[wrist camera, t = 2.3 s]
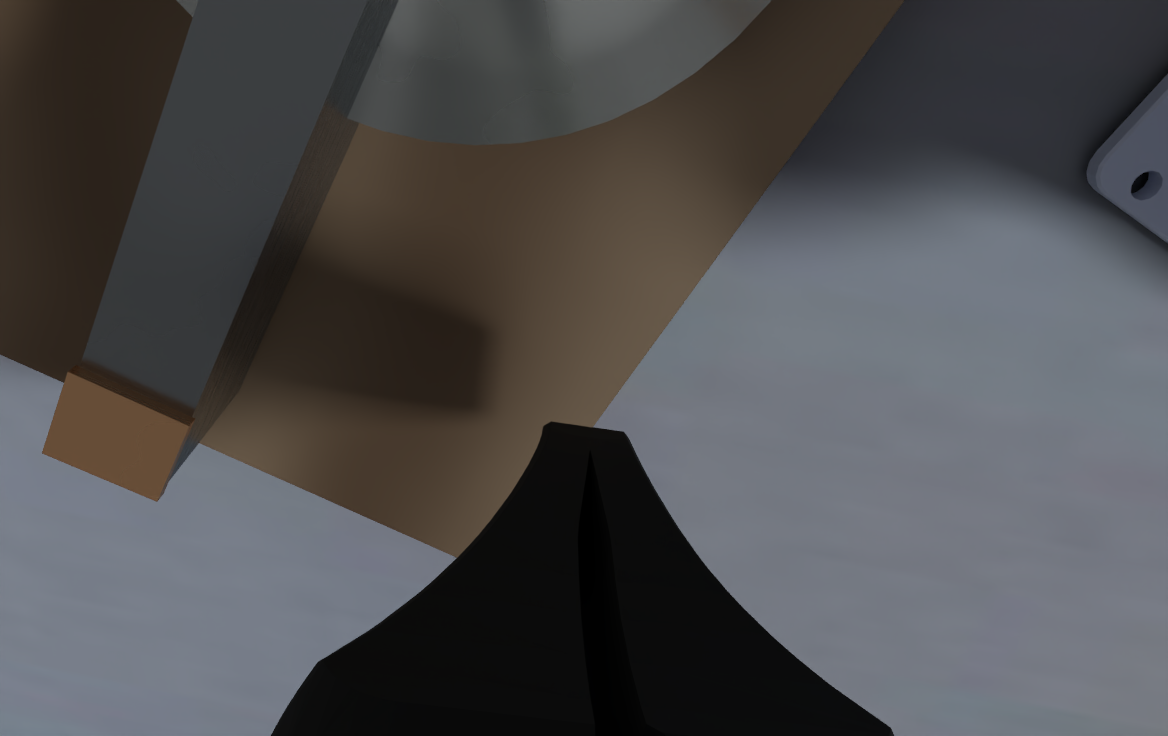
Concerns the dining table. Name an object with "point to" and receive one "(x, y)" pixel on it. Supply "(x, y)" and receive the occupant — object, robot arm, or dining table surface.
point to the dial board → (412, 251)
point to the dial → (322, 173)
